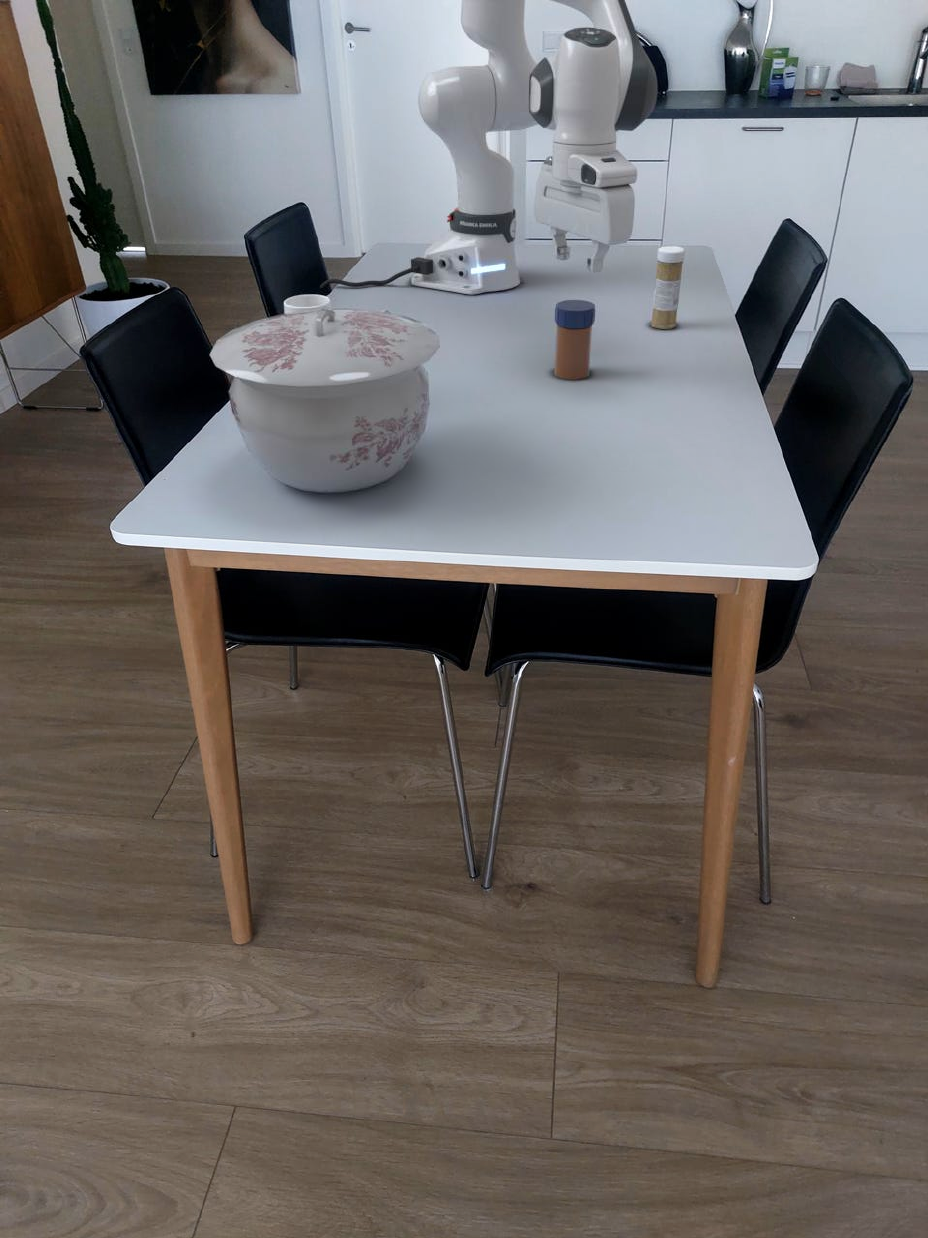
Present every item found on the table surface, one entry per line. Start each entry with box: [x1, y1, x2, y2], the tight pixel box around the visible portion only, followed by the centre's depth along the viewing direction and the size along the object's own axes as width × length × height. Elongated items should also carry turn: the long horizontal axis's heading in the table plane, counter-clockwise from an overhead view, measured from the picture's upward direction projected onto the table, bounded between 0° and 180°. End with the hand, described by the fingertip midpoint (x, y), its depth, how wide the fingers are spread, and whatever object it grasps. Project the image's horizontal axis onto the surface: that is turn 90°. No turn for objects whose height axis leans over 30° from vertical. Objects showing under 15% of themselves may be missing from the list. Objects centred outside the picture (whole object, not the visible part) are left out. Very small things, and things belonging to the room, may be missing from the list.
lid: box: [554, 299, 596, 328], centre depth 146 cm, size 6×6×3 cm
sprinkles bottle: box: [650, 245, 685, 330], centre depth 167 cm, size 5×5×14 cm
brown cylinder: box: [554, 324, 593, 381], centre depth 149 cm, size 6×6×10 cm
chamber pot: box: [209, 307, 441, 494], centre depth 118 cm, size 28×28×21 cm
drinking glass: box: [283, 294, 333, 314], centre depth 139 cm, size 7×7×15 cm
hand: (578, 264), depth 142 cm, fingers open, 7 cm apart
